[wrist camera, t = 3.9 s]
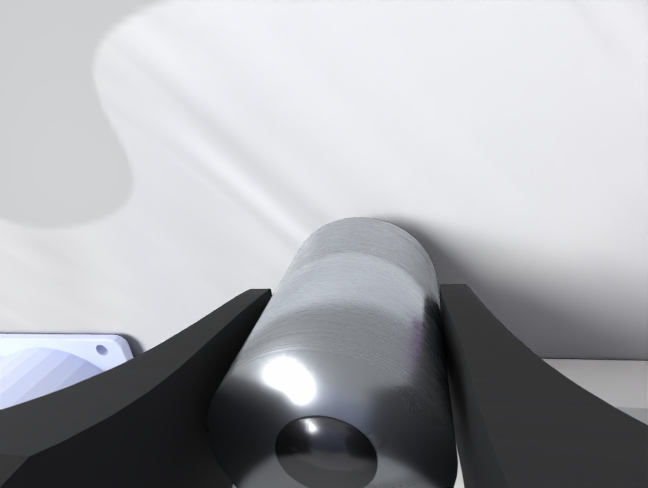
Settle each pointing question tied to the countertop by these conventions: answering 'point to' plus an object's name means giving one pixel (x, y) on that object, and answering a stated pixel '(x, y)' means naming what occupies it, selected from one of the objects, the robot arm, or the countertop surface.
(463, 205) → the countertop surface
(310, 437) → the steel spacer
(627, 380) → the kitchen scale
